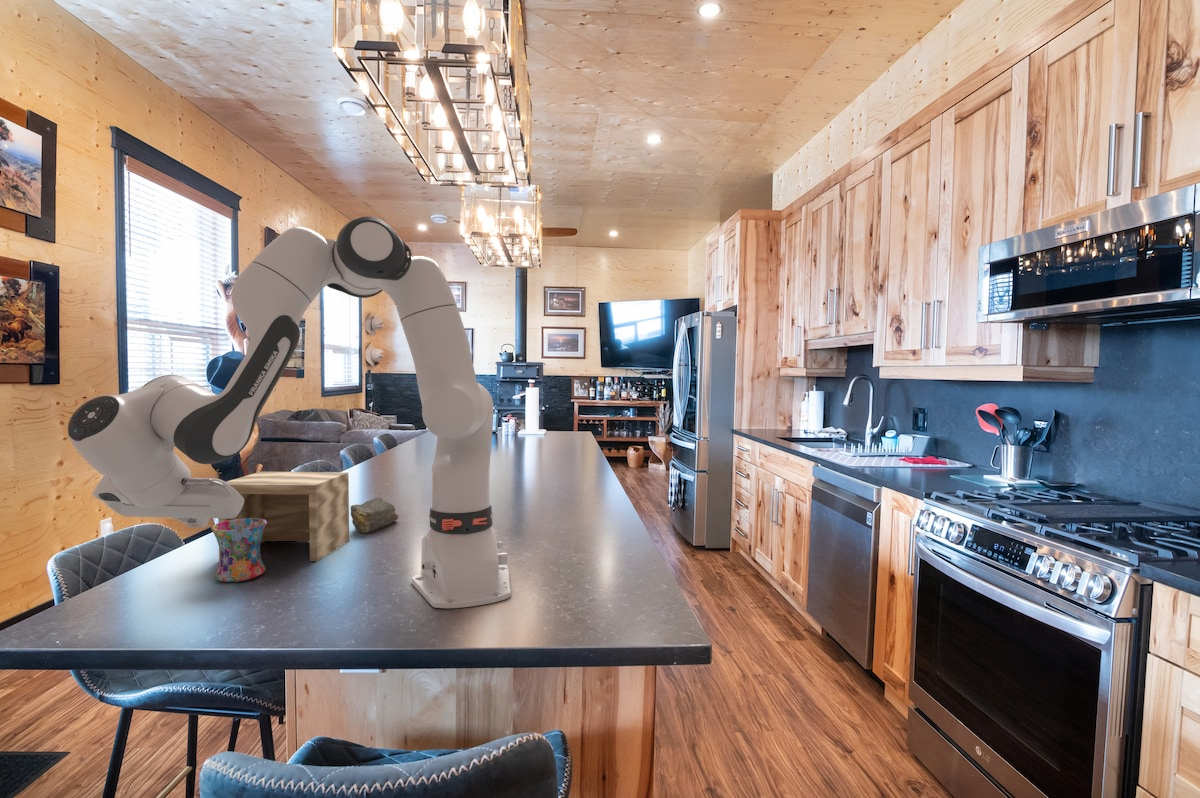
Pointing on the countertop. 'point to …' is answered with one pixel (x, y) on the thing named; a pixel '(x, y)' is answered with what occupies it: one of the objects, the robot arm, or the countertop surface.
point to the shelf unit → (298, 507)
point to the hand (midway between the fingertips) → (199, 523)
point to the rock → (372, 515)
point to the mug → (239, 549)
